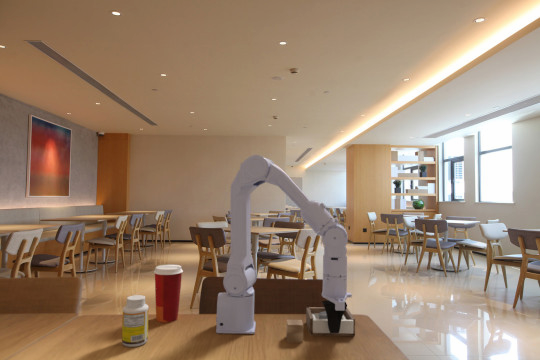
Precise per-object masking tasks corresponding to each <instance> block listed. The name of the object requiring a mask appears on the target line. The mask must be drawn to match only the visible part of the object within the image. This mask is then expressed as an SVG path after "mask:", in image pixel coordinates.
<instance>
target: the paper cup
mask: <svg viewBox="0 0 540 360" xmlns="http://www.w3.org/2000/svg"><path fill="white" fill-rule="evenodd" d="M182 267H183V266H182V265H179V264H161V265H157V266H156V267H155V268H154V270H153V274H154V286H155V287H154V288H155V290H154V291H155V298H154V299H155V319H156V322H158V323H161V324H163V323H164V324H165V323H166V324H167V323H172V322H175V321H177V320H178V319H179V308H180V299H181V288H182V276H183V275H182V273H183V272H184V270H183V269H182Z"/></svg>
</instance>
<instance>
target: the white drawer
mask: <svg viewBox="0 0 540 360" xmlns="http://www.w3.org/2000/svg"><path fill="white" fill-rule="evenodd" d="M312 316H313V318H314V319H313V333H330V331H329V327H328V320H327V319H319V313H312ZM353 324H354V321H353V320H347V319H346V317H345V316H344V314H343V316H342V319H341V325H340V331H339V333H351V334H353Z"/></svg>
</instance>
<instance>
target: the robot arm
mask: <svg viewBox="0 0 540 360" xmlns="http://www.w3.org/2000/svg"><path fill="white" fill-rule="evenodd" d="M265 183H268V184H271V185H274V186H276V187H278V188H279V189H280V190H281V191H282V192H283V193H284V194H285V195H286V196H287V197H288V198H289V199H290V200H291V201H292V202H293V203H294V204H295V205H296V206H297V207H298V208H299V209H300V214H299V215H300V217H301V219H302V220H303V221H304V222H305V223H306V224H307V225H308V226H309V227H310V228H311V230H312V231H313V232H314V233H315V234H316V236H321V242H322V244H323V245H324V246H323V247H324V248H323V256H322V292H321V297H322V298H324V299H326V300H322V302H321V303H322V305H323V307H324V308H325V311H326V314H327V320H328V327H329V331H330V333H339V331H340V325H341V319H342V316H343V314H344V312H345V310H346V308H347V309H348V303H347V301H346V300H347V299H348V298H352V297H353V296H352V295H353V294H352V293H351V292H349V291H348V280H347V279H348V255H347V253H348V252H347V251H348V248H347V244H348V241H349V239H348V238H349V237H348V231H347V229H346V228H345V227H344V225H343V224H341V223H339V221H340V219H338V217H336V218H334V216H333V215H331V213H330V212H329V211H328V210H327V209H326V207H327V206H326V205H325V203H324V202H320V201H318V200H313V199H312V200H311V199H310V198H308V196H307V195H306V194H305V193H304V192H303V190H302V189H301V188H300V187H299V186H298V185H297V184H296V183H295V182H294V180H293V179H292V178H291V177H290V176H289V174H288V173H286V172H285V171H284V170H283V169H282V168H281V167H280V166H279V165H277V164H275V162H274V161H273V160H272V159H270V158H268V157H264V156H263V155H260V154H252V155H250V156H249V157H247V158H246V159H245V160H244V161H243V162H241V163H240V166H239V170H238V171H237V173H236V175H235V177H234V178H233V181H232V182H231V184H230V256H229V258H228V261H227V264H226V273H225V274H224V276H223V281H222V283H223V288H224V290H225V291H224V292H219V293H218V294H217V301H216V317H215V318H216V319H215V321H216V322H215V323H216V327H215V329H216V330H215V333H216V334H243V335H246V334H247V335H248V334H251V335H253V334H255V333H256V326H257V325H256V320H255V289H254V287H253V286H254V285H255V283H256V281H257V279H258V274H257V270H256V269H255V265H254V258H253V255H252V241H251V240H252V235H251V234H252V233H251V232H252V231H251V230H252V225H251V224H252V223H251V222H252V221H251V217H252V215H251V214H252V213H251V210H252V209H251V208H252V207H251V206H252V205H251V202H252V199H251V197H252V196H251V194H252V193H253V192H254V191H255V190H256V189H257V188H258V187H259V186H261V185H262V184H265ZM347 291H348V292H347Z"/></svg>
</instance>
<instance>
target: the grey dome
mask: <svg viewBox="0 0 540 360" xmlns="http://www.w3.org/2000/svg"><path fill="white" fill-rule="evenodd" d="M319 319H327V314H326V311H323V312H320V313H319Z"/></svg>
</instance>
